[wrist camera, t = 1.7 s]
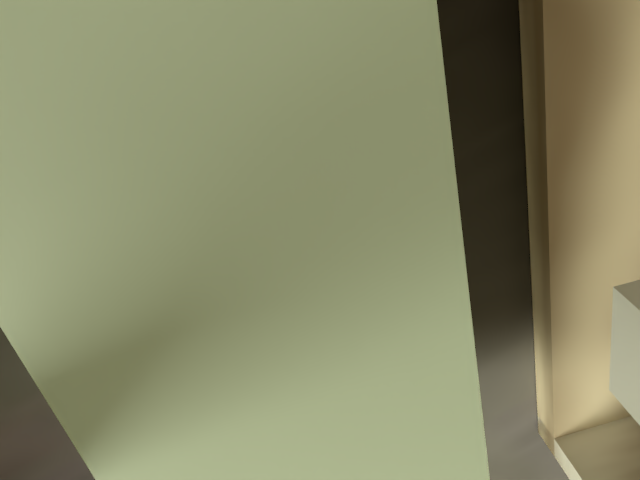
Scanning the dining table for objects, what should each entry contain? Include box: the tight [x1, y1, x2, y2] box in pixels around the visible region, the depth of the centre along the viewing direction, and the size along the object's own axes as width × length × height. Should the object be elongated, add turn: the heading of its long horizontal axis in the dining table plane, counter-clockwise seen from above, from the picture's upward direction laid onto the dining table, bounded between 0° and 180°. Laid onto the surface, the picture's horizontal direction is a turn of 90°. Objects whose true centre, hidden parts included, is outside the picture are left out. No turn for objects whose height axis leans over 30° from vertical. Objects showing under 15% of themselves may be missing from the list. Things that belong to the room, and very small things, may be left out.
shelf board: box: [0, 0, 490, 480], centre depth 14 cm, size 9×22×2 cm, turn 12°
